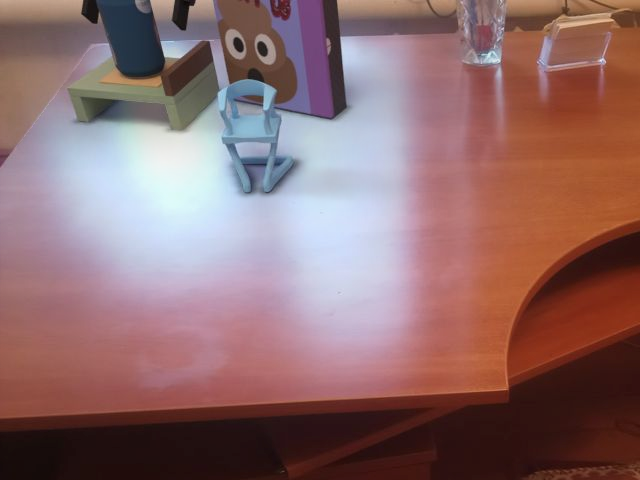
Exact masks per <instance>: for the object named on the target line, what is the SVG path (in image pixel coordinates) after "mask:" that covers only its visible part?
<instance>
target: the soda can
mask: <svg viewBox="0 0 640 480" xmlns="http://www.w3.org/2000/svg"><path fill="white" fill-rule="evenodd" d="M96 2H97V6H98V9H99V16H100V19H101V22H102V26H103V30H104V32H105V33H104V34H105V36H106V39H107V43H108V46H109V50H110V52H111V57H112V56H113V60H114V63H115V66H116V68H117V69H118V70H119V71H120V72H121V73H122V74H123V75H124V76H125V77H127V78H130V79H147V78H152V77H155V76H157V75H159V74H161V73H162V71H163V68H164V65H165V57H166V56H165V54H164V49H163V46H162V42H161V38H160V34H159V30H158V26H157V22H156V18H155V15H154V10H153V6H152V2H151V0H96Z"/></svg>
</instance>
